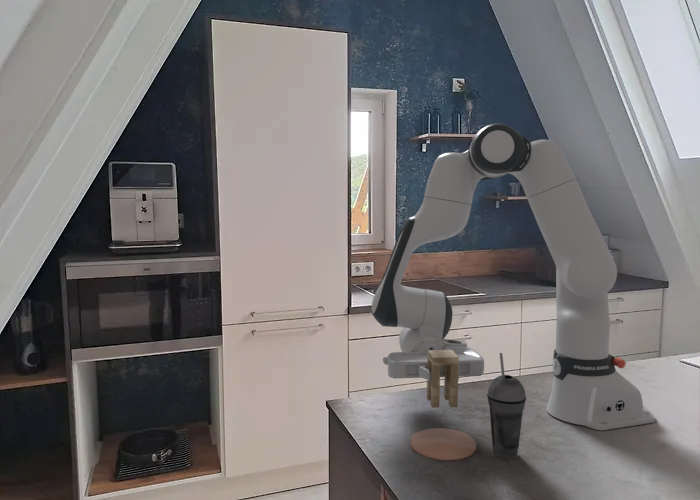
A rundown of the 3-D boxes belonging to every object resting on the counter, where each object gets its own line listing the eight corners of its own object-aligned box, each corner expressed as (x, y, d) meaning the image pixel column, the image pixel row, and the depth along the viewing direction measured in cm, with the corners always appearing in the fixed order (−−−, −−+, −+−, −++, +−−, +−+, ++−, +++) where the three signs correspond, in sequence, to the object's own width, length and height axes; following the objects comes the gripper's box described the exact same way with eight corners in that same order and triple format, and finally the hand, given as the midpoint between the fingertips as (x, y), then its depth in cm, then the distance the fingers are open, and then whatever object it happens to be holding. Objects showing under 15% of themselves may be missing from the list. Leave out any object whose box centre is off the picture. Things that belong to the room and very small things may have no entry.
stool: (450, 397, 112) (451, 349, 111) (457, 406, 107) (458, 357, 106) (426, 397, 111) (427, 350, 110) (432, 407, 106) (433, 357, 105)
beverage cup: (527, 464, 102) (529, 360, 100) (486, 461, 103) (488, 358, 101) (522, 446, 109) (525, 349, 107) (485, 443, 110) (486, 347, 108)
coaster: (464, 429, 117) (465, 426, 117) (485, 458, 104) (485, 455, 104) (405, 432, 116) (405, 429, 116) (418, 462, 103) (418, 459, 103)
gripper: (381, 343, 120) (391, 363, 106) (472, 341, 122) (493, 360, 108) (381, 371, 121) (391, 394, 107) (471, 368, 123) (492, 391, 109)
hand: (443, 377), depth 108 cm, fingers closed on stool, 3 cm apart
